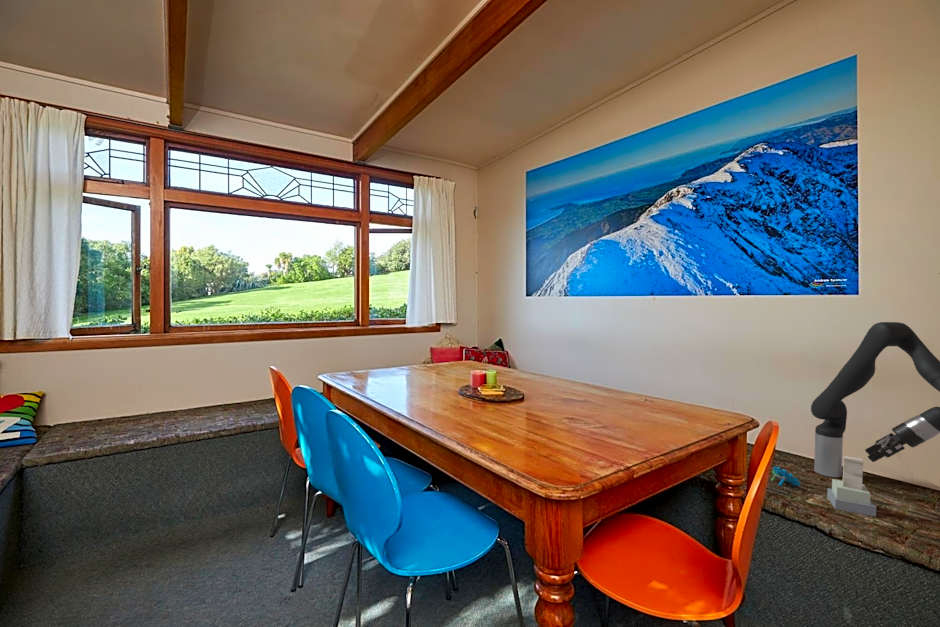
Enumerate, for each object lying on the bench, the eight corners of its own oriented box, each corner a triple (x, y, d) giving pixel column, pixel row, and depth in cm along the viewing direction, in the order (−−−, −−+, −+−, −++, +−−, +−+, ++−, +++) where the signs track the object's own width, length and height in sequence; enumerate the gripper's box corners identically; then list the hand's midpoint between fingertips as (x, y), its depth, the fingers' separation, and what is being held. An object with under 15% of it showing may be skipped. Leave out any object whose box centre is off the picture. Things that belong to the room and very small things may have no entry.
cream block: (842, 481, 157) (843, 455, 157) (860, 485, 154) (862, 459, 153) (843, 486, 153) (844, 459, 153) (861, 490, 150) (863, 463, 150)
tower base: (827, 498, 161) (827, 488, 161) (865, 505, 156) (865, 494, 156) (835, 510, 152) (835, 499, 152) (876, 518, 147) (876, 506, 146)
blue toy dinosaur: (807, 486, 167) (789, 468, 167) (798, 497, 166) (780, 480, 166) (784, 478, 178) (767, 462, 178) (775, 489, 177) (759, 472, 177)
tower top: (831, 489, 160) (832, 478, 160) (863, 495, 156) (863, 484, 155) (836, 498, 153) (837, 487, 153) (870, 504, 148) (870, 493, 148)
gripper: (901, 417, 151) (856, 442, 158) (908, 426, 139) (860, 452, 147) (922, 435, 147) (875, 459, 155) (931, 445, 136) (881, 471, 144)
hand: (868, 456), depth 151 cm, fingers open, 8 cm apart
